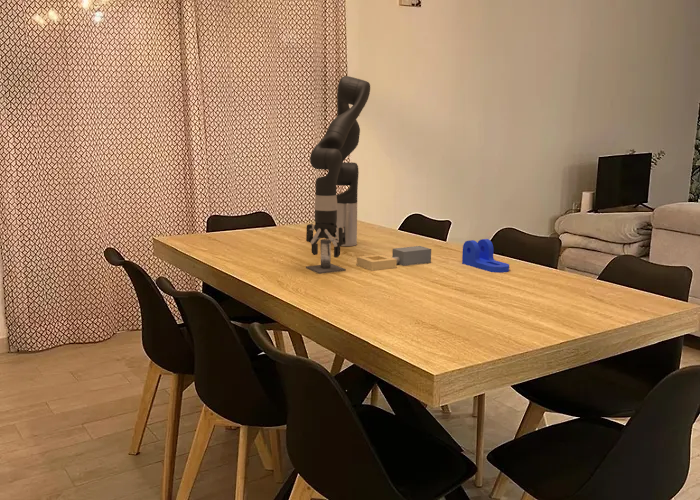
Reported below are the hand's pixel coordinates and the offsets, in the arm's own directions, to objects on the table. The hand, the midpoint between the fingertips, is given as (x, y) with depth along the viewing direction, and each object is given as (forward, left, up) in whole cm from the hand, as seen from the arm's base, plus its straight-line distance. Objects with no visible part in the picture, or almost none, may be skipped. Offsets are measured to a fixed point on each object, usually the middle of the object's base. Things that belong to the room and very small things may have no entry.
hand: (325, 255), depth 238 cm
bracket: (+23, +52, -5) cm, 57 cm away
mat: (0, 0, -5) cm, 5 cm away
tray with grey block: (+4, +26, -5) cm, 27 cm away
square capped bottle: (0, 0, -4) cm, 4 cm away
